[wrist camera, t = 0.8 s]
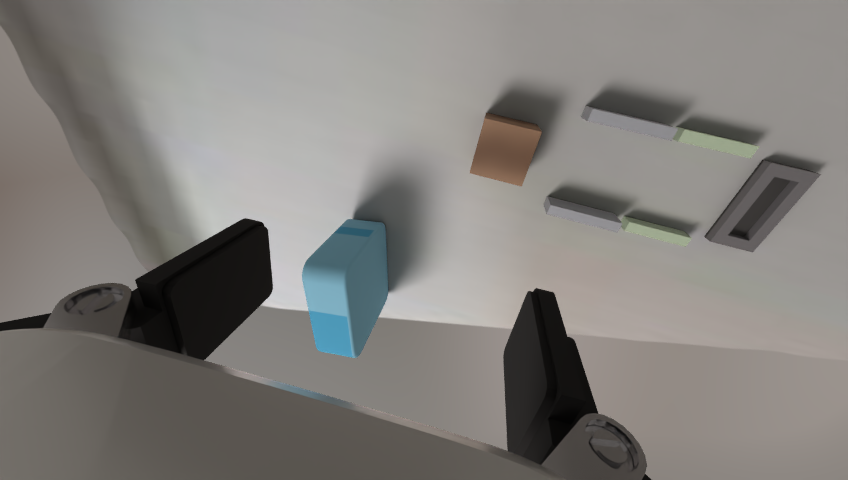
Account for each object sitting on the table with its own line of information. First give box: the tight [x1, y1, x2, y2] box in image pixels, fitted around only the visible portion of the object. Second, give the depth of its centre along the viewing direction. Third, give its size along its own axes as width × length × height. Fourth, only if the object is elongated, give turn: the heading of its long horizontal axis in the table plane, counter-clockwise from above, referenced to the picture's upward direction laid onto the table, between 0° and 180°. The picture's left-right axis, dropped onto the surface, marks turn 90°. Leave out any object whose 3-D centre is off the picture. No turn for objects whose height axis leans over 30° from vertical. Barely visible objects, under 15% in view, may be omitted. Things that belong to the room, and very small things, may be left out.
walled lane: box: [544, 106, 678, 233], centre depth 30 cm, size 10×7×2 cm
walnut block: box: [470, 113, 542, 186], centre depth 30 cm, size 5×5×4 cm
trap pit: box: [705, 160, 821, 252], centre depth 29 cm, size 8×4×1 cm, turn 169°
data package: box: [302, 219, 388, 358], centre depth 37 cm, size 12×4×12 cm, turn 179°
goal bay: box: [621, 127, 759, 247], centre depth 30 cm, size 10×6×2 cm, turn 169°
